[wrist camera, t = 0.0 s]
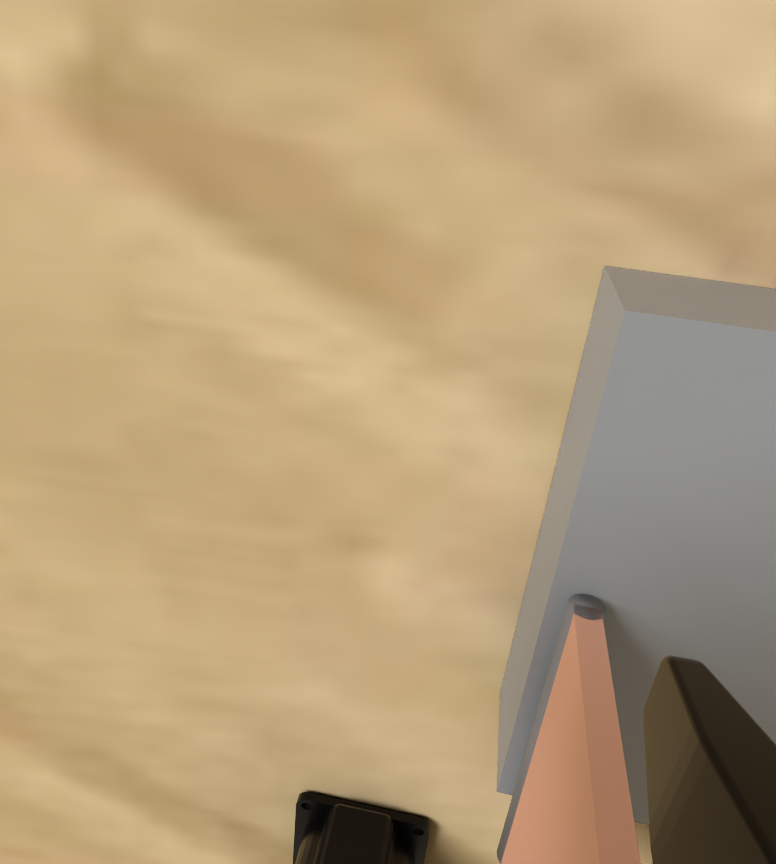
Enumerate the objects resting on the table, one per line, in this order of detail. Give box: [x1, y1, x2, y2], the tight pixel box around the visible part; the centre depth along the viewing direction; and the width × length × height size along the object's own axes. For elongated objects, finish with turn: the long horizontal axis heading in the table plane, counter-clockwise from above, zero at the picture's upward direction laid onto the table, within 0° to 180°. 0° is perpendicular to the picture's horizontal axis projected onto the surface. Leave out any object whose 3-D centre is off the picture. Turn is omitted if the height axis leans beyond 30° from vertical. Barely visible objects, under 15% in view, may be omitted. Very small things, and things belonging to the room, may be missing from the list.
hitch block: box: [497, 266, 776, 825], centre depth 22 cm, size 18×14×4 cm
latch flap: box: [497, 594, 641, 864], centre depth 19 cm, size 12×1×9 cm, turn 174°
